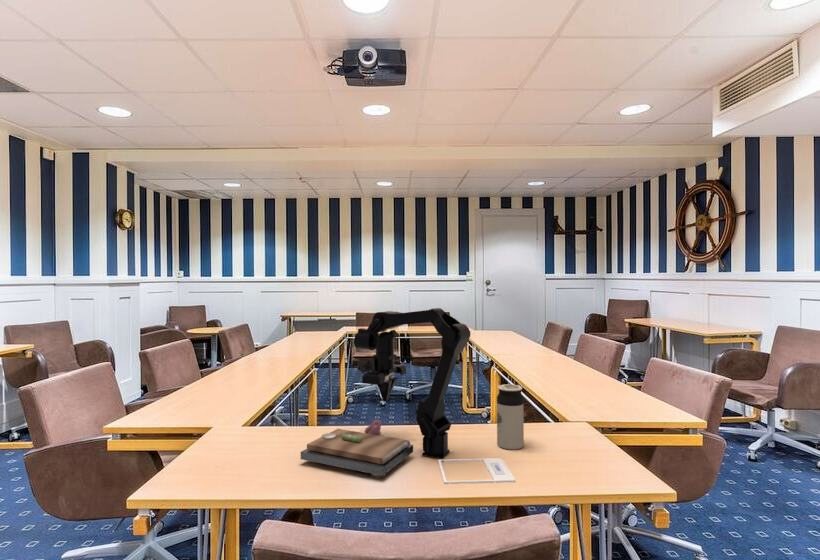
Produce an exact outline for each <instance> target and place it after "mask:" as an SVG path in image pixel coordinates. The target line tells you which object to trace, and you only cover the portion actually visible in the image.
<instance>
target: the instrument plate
mask: <svg viewBox="0 0 820 560" xmlns="http://www.w3.org/2000/svg"><path fill="white" fill-rule="evenodd" d="M409 445H411V441H410V440H409V439H403V438H398V437H397V438H396V437H390V436H385V435H373V434H367V433H365V432H361V431H360V432H359V431H354V430H349V429H344V428H342V429H341V428H337V429H334V430H333V431H330V432H326V433H323V434H322V435H321V436H320V437H319V438H317V439H314V440H313V441H310V442H309V443H307V444H306V449H307V450H312V451H317V452H322V453H327V454H332V455H337V456H343V457H348V458H353V459H358V460H363V461H368V462H373V463H378V464H384V463H386V462H387V461H388V460H390V459H391V458H392V457H394V456H395V455H397V454H398V453H399V452H401V451H402V450H403V449H405V448H406V447H407V446H409Z"/></svg>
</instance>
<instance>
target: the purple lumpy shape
mask: <svg viewBox="0 0 820 560" xmlns="http://www.w3.org/2000/svg"><path fill="white" fill-rule="evenodd" d="M382 424H383V422H382V421H381V420H380V419H375V420H373V421H372V422H371V423H370V425H368V426H367V427H366V428H365V429H364V433H367V434H373V435H379V436H381V435H382V431H381V426H382Z"/></svg>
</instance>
